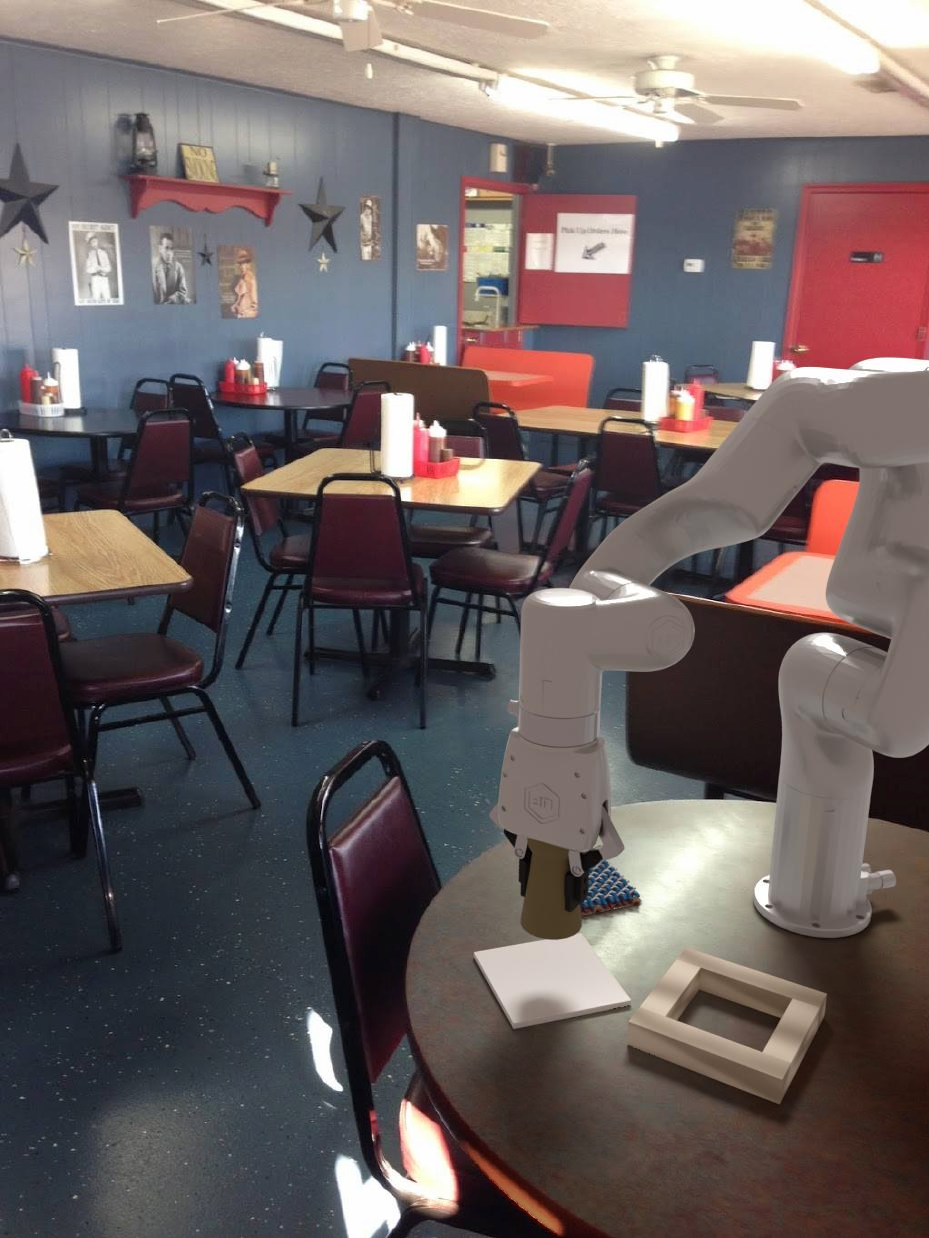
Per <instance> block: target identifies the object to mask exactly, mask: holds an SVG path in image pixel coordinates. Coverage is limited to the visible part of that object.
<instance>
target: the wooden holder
mask: <svg viewBox="0 0 929 1238" xmlns="http://www.w3.org/2000/svg"><path fill="white" fill-rule="evenodd" d="M699 991H702V992H705V993H708V994H711V995H714V996H716V997H719V998H722V999H726V1000H728V1001H731V1002H733V1003H736V1004H738V1005H742V1006H745V1007H747V1008H751V1009H754V1010H757V1011H759V1012H762V1013H766V1014H767V1015H771V1016H774V1017H777V1018H780V1020H779V1022H778V1024H777V1025H776V1028H775V1029H774V1030H773V1032H772V1034H771V1036H770V1038H769V1039H768V1042H767V1043H766V1045H765V1047H764V1049H763V1051H760V1050H758V1049H755V1048H752V1047H750V1046H747V1045H744V1044H741V1043H738V1042H735V1041H733V1040H730V1039H727V1038H725V1037H722V1036H720V1035H717V1034H713V1033H712V1032H708V1031H706V1030H704V1029H700V1028H698V1027H695V1026H692V1025H689V1024H687V1023H685V1022H682V1021H678V1020H679V1018H681V1016H682V1015H683V1013H684V1011H685V1010H686V1009H687V1008H688V1006H689V1005H690V1003H691V1002H692V1000H693V999H694V997H695V996H696V995H697V993H698V992H699ZM827 996H828V994H827V993H826V992H822V991H820V990H817V989H814V988H810V987H807V986H804V985H801V984H798V983H795V982H793V981H789V980H786V979H785V978H784V979H783V978H781V977H777V976H774V975H771V974H769V973H766V972H762V971H760V970H756V969H753V968H750V967H746V966H744V965H741V964H739V963H734V962H731V961H729V960H727V959H726V960H725V959H724V958H720V957H716V956H715V955H710V954H707V953H704V952H701V951H698V950H696V949H693V948H689V947H685V948H684V949H683V951H681V953H680V955H678V957H677V958H676V960H675V961H674V962H673V964H672V965H671V966H670V967H669V968H668V970H667V971H666V973H665V974H664V975H663V976H662V978H661V979H660V980H659V982H658V983H657V984H656V985H655V987H654V988H653V989H652V990H651V992H650V993H649V994H648V996H647V997H646V998H645V1000H644V1001H643V1002H642V1003H641V1004H640V1005H639V1007H638V1009H637V1010H636V1011H635V1013H633V1015H632V1016H631V1018H630V1019H629V1020H628V1025H627V1041H626V1042H627V1043H626V1045H627V1044H628V1045H627V1046H629V1045H630V1046H629V1047H631V1046H633V1047H632V1048H634V1049H636V1048H637V1049H636V1050H639V1049H640V1050H639V1051H642V1052H644V1053H647V1054H649V1053H650V1055H651V1056H654V1055H655V1056H654V1057H657V1058H659V1059H662V1060H665V1061H668V1062H670V1063H673V1064H674V1065H678V1066H680V1067H681V1068H682V1067H683V1068H685V1069H688V1070H691V1071H693V1072H695V1073H698V1074H701V1075H703V1076H706V1077H708V1078H709V1079H710V1078H711V1079H713V1080H716V1081H719V1082H721V1083H724V1084H726V1085H728V1086H731V1087H734V1088H736V1089H740V1090H741V1091H744V1092H747V1093H748V1094H752V1095H755V1096H757V1097H759V1098H762V1099H765V1100H767V1101H770V1102H772V1103H775V1104H777V1105H781V1103H782V1100H783V1099H784V1097H785V1095H786V1093H787V1091H788V1089H789V1086H790V1085H791V1083H792V1081H793V1079H794V1077H795V1075H796V1073H797V1071H798V1070H799V1067H800V1065H801V1063H802V1061H803V1059H804V1057H805V1055H806V1053H807V1051H808V1049H809V1047H810V1046H811V1044H812V1042H813V1040H814V1038H815V1035H816V1034H817V1032H818V1029H819V1027H820V1026H821V1024H822V1021H823V1020H824V1018H825V1014H826V1013H825V1012H826V1006H827V1005H826V1004H827Z"/></svg>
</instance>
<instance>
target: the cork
mask: <svg viewBox="0 0 929 1238" xmlns="http://www.w3.org/2000/svg"><path fill="white" fill-rule="evenodd" d="M527 842H528V846H529V848H530V850H531V851H532V857H531V863H530V870H529V877H528V883H527V888H526V894H525V897H523V903H522V910H521V913H520V925H521V928H522V929H523V930H524V931H525V932H527V934H529V935H531V936H533V937H536V938H539V939H541V940H545V939H547V940H559V939H566V938H569V937H571V936H574V935H575V934H579V932H580V931H581V929H582V928H583V927H582V926H583V921H582V916H581V912H582V911H580V904H579V905H578V906H577V907H576V908H575V909H574V910H573V911H572V912H567V911H566V910H565V894H564V889H565V875H566V874H567V873H568V872H570V862H569V855H568V853H569V850H567V849H563V848H560V847H556V846H553V845H550V844H547V843H544V842H541V841H537V840H533V839H530V838H527Z"/></svg>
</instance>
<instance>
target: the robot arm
mask: <svg viewBox="0 0 929 1238" xmlns="http://www.w3.org/2000/svg"><path fill="white" fill-rule="evenodd" d="M824 463H829V464H833V465H838V466H845V467H851V468H858V470H859V482H858V483H859V484H858V490H857V493H856V496H855V500H854V503H853V507H852V509H851V512H850V516H849V518H848V521H847V523H846V527H845V530H844V532H843V534H842V538H841V541H840V544H839V546H838V549H837V551H836V554H835V557H834V559H833V563H832V566H831V569H830V572H829V574H828V578H827V582H826V587H825V599H826V604H827V606H828V608H829V610H830V611H831V612H832V613H833V614H834V615H835V616H836V617H838V618H839V619H841V620H843V621H844V622H846V623H848V624H851V625H854V626H856V627H857V628H861V629H863V630H866V631H868V632H871V633H874V634H876V635H879V636H881V637H885V638H887V639H890V642H889V643H890V644H889V647H888V650H887V651H884V650H883V649H881V648H878V647H876V646H873V645H871V644H867V643H865V642H862V641H859V640H857V639H854V638H853V637H849V636H845V635H841V634H838V633H832V632H817V633H815V632H814V633H812V634H808V635H806V636H803V637H802V638H800V639H798V640H797V641H795V643H793V644H792V645H791V647H790V648H788V650H787V651H786V653H785V655H784V657H783V658H782V662H781V665H780V668H779V672H778V698H779V708H780V715H781V727H782V728H781V732H782V734H781V735H782V737H781V755H780V765H779V766H780V767H779V772H778V773H779V775H778V783H777V785H778V786H777V794H776V796H777V797H776V806H775V815H774V824H773V825H774V827H773V836H772V848H771V857H770V867H769V874H768V875H767V876H764V877H762V878H761V879H759V880H758V881H757V882H756V884H755V885H754V888H753V895H752V896H753V897H752V901H753V904H754V907H755V908H756V909H757V912H759V913H760V914H761V915H762V917H764V918H766V920H768V921H769V922H771V923H773V924H774V925H776V926H778V927H779V928H782V929H784V930H787V931H789V932H792V933H796V934H797V935H798V934H799V935H803V936H808V937H812V938H813V937H814V938H822V939H836V938H844V937H849V936H852V935H856V934H858V933H860V932H861V931H864V930H865V928H867V927H868V925H869V924H870V922H871V918H872V913H873V911H872V905H871V902H870V900H869V899H868V898H867V895H870V894H872V893H873V892H874V890H882V889H888V888H889V889H890V888H892V887H895V886H896V885H897V878H896V875H895V873H894V872H893V871H892V870H891V869H884V870H879V871H875V872H872V868H871V865H870V864H869V863H867V862H864V863H863V860H864V853H865V846H866V845H865V843H866V838H867V836H866V835H867V829H868V819H869V814H870V813H869V812H870V811H869V810H870V806H871V805H870V804H871V795H872V788H873V781H874V768H875V765H874V756H873V755H874V754H873V751H874V752H876V753H879V754H881V755H884V756H887V757H891V758H896V759H897V758H899V759H900V758H907V757H912V756H915V755H916V754H918V753H920V752H921V751H923V750H924V749H925V748H927V746H929V360H928V359H918V358H909V357H908V358H907V357H876V358H869V359H865V360H862V361H859V362H856V363H855V364H853V365H852V366H850V367H849V368H847V369H841V368H831V367H830V368H829V367H820V366H819V367H817V366H816V367H815V366H808V367H807V366H803V367H797V368H792V369H790V370H787V371H786V372H784V373H782V374H780V375H779V376H777V378H775V379H774V380H773V381H772V382H771V383H770V384H769V385H768V386H767V388H766V389H765V390H764V391H763V393H761V395H760V396H759V397H758V399H757V400H756V401H755V402H754V403H753V405H751V407H750V408H749V410H748V411H747V412H746V413H745V414H744V415H743V417H742V418H741V419H740V420H739V422H738V423H737V424H736V425H735V427H734V428H733V429H732V430H731V432H730V433H729V434H728V435H727V437H726V438H725V439H724V440H723V441H722V443H721V444H719V446H718V447H717V449H716V450H715V451H714V452H713V454H712V455H710V457H709V458H708V460H706V462H705V463H704V465H703V466H702V467H701V468H700V469H699V470H698V471H697V473H696V474H694V476H693V477H691V478H690V479H689V480H688V481H686V482H685V483H683V484H681V485H679V486H677V487H675V488H673V489H672V490H670V491H667V493H665V494H663V495H662V496H660V497H658V498H657V499H655V500H654V501H652V502H651V503H649V504H648V505H646V506H644V507H642V508H641V509H639V510H638V511H636V512H634V513H633V514H632V515H630V516H629V517H627V518H626V519H625V520H623V521H622V522H621V523H619V525H617V526H616V527H615V528H614V529H613V530H612V531H611V532H609V534H608V535H607V536H606V537H605V538H604V539H603V541H601V543H600V544H599V545H598V547H597V548H596V549H595V550H594V552H593V553H592V554H591V555H590V556H589V558H587V560H586V561H585V563H584V564H583V565H582V567H581V568H580V569H579V570H578V572H577V573H576V575H575V577H574V578H573V580H572V582H571V584H570V585H569V588H567V587H566V588H565V587H557V588H556V587H555V588H554V587H553V588H552V587H551V588H545V589H541V590H537V591H534V592H532V593H531V594H529V595H528V596H527V597H525V600H523V603H522V606H521V612H520V613H521V614H520V638H519V639H520V640H519V641H520V644H519V647H520V648H519V677H518V678H519V681H518V682H519V684H518V685H519V686H518V687H519V688H518V700H515V699H510V700H509V702H508V704H507V706H506V707H507V708H506V709H507V710H506V711H507V713H508V714H511V715H513V716H514V717H516V727H514V728H513V729H511V730H510V731H509V735H508V739H507V742H506V748H505V752H504V755H503V762H502V767H501V774H500V783H499V793H498V801H497V804H496V805H495V806H494V807H493V808H492V809H491V811H490V812H489V814H488V815H489V819H490V820H491V821H492V822H493V823H494V824H495V825H496V826H497V827H498V828H499V829H500V830H501V831H503V834H504V836H505V837H506V839H507V840H508V841H509V843H510V845H512V847H513V848H514V849H513V853H514V856H515V857H516V858H517V859H518V882H519V883H520V893H519V894H520V897H523V898H524V897H525V894H526V888H527V883H528V877H529V870H530V863H531V857H532V851H531V850H530V848H529V846H528V842H527V838H530V839H533V840H537V841H541V842H544V843H547V844H550V845H553V846H556V847H560V848H563V849H567V850H569V853H568V855H569V862H570V872H568V873H567V874H566V875H565V889H564V894H565V910H566V911H567V912H572V911H573V910H574V909H575V908H576V907H577V906H578V905H579V904H580V903H583V902H584V901H585V900H586V898H587V895H588V884H589V869H591V868H592V867H594V866H595V865H597V864H598V863H599V862H602V861H606V860H607V861H608V860H611V859H614V858H617V857H618V856H620V855H621V853H623V852H624V851H625V844H624V843H623V840H622V839H621V837H620V835H619V833H618V831H617V829H616V827H615V826H614V822H613V821H612V785H611V771H610V765H609V764H610V763H609V762H610V760H609V756H608V750H607V746H606V740H605V738H603V737H600V729H601V728H600V726H601V725H600V724H601V704H602V702H601V701H602V685H603V684H602V683H603V672H605V671H613V672H614V671H621V672H622V671H623V672H645V673H646V672H655V671H661V670H664V669H667V668H669V667H671V666H673V665H675V664H677V663H678V662H680V661H681V660H682V659H684V657H685V656H686V655H687V653H688V652H689V650H690V649H691V647H692V645H693V643H694V639H695V633H696V632H695V631H696V630H695V629H696V628H695V627H696V626H695V622H694V619H693V616H692V614H691V612H690V610H689V609H688V607H687V606H686V605H685V604H684V603H683V602H682V601H680V599H678V598H677V597H676V596H674V595H672V594H670V593H669V592H666V591H663V590H662V589H659V588H657V587H654V586H652V585H651V584H653V582H655V580H656V579H657V578H658V577H659V576H660V575H661V574H663V573H664V572H665V571H666V570H668V569H669V568H670V567H672V566H673V565H675V564H677V563H678V562H680V561H683V560H684V559H685V558H688V557H690V556H693V555H696V554H698V553H702V552H705V551H709V550H715V549H719V548H725V547H729V546H734V545H737V544H741V543H745V542H748V541H751V540H755V539H757V538H760V537H761V536H763V535H765V533H767V531H769V530H770V529H771V527H772V526H773V525H774V524H775V523H776V521H777V519H778V518H779V517H780V516H781V515H782V513H783V512H784V511H785V509H786V508H787V507H788V505H789V504H790V503H791V502H792V500H794V498H795V497H796V496H797V495H798V494H799V492H800V491H801V490H802V488H803V487H804V486H805V485H806V484H807V482H808V481H809V480H810V478H812V476H813V475H814V474H815V473H816V472H817V470H818V469H819V468H820V467H821V466H822V465H823V464H824ZM598 838H599V839H600V841H601V843H602V844H601V845H600V844H599V845H597V846H596V847H595V845H596V844H597V842H598Z"/></svg>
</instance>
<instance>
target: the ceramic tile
mask: <svg viewBox="0 0 929 1238" xmlns="http://www.w3.org/2000/svg"><path fill="white" fill-rule="evenodd" d="M473 958H474V960H475V962H476V965H477V966H478V967H479V969H480V971H481V973H482V975H483V977H484V978H485V980H486V981H487V983H488V985H489V987H490V989H491V992H492V993H493V994H494V997H495V998H496V1000H497V1002H498V1003H499V1005H500V1008H501V1009H502V1011H503V1012H504V1014H505V1016H506V1018H507V1019H508V1021H509V1023H510V1025H511V1027H512V1029H513V1030H516V1029H521V1028H526V1027H530V1026H537V1025H540V1024H545V1023H550V1022H555V1021H560V1020H565V1019H570V1018H575V1017H580V1016H586V1015H591V1014H596V1013H600V1012H605V1011H610V1009H611V1010H614V1009H613V1008H616V1009H618V1008H617V1007H621V1008H625V1007H624V1006H626V1007H628V1006H627V1005H631V1006H632V999H631V998H630V996H629V995H628V994H627V993H626V991H625V990H624V988H623V987H622V986H621V984H620V983H619V982H618V980H617V979H616V978H615V977H614V975H613V974H612V972H611V971H610V970H609V968H608V967H607V965H606V964H605V963H604V962H603V961H602V958H600V956H599V955H598V954H597V952H596V951H595V949H594V948H593V947H592V945H591V944H590V942H588V940H587V939H586V938H585V936H584V935H583V933H582V932H581V933H577V934H575V935H574V936H571V937H569V938H566V939H559V940H547V939H540V940H536V941H528V942H523V943H518V944H512V945H506V946H501V947H495V948H490V949H484V950H479V951H474V952H473Z"/></svg>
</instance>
